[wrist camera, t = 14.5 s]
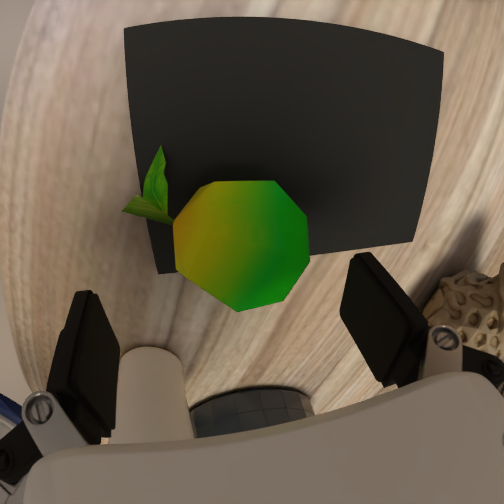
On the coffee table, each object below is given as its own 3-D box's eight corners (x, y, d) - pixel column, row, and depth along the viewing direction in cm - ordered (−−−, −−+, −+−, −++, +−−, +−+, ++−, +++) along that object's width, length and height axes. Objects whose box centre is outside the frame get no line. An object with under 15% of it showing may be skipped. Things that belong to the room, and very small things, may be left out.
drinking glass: (127, 325, 21) (124, 536, 9) (206, 352, 24) (237, 536, 12) (102, 369, 23) (97, 536, 11) (169, 390, 26) (186, 542, 14)
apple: (337, 320, 12) (102, 269, 9) (262, 326, 18) (103, 292, 14) (340, 171, 14) (161, 96, 11) (275, 214, 20) (137, 169, 16)
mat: (158, 268, 19) (158, 275, 18) (126, 29, 11) (123, 28, 10) (408, 237, 21) (412, 241, 21) (438, 51, 13) (444, 52, 13)
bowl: (193, 446, 36) (198, 478, 32) (168, 396, 27) (171, 441, 23) (301, 428, 38) (311, 458, 34) (318, 372, 29) (335, 413, 25)
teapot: (441, 208, 20) (576, 344, 8) (506, 218, 23) (602, 312, 11) (355, 377, 32) (406, 489, 20) (425, 359, 35) (476, 448, 22)
